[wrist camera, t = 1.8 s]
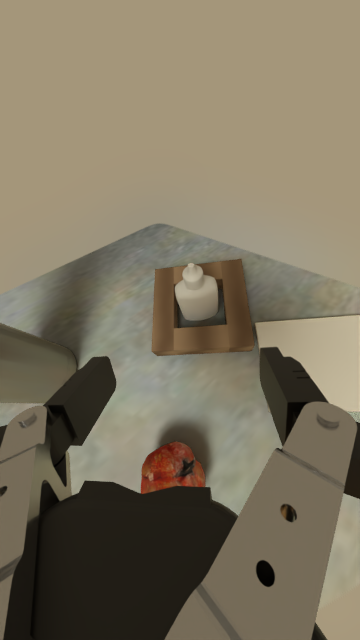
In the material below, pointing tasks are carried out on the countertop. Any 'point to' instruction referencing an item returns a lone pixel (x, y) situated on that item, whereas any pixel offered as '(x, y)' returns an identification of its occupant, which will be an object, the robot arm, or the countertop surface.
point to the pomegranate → (171, 468)
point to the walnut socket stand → (205, 337)
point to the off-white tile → (321, 353)
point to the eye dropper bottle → (197, 294)
